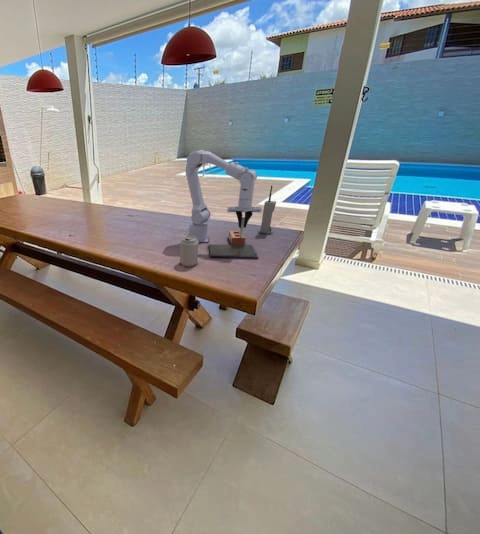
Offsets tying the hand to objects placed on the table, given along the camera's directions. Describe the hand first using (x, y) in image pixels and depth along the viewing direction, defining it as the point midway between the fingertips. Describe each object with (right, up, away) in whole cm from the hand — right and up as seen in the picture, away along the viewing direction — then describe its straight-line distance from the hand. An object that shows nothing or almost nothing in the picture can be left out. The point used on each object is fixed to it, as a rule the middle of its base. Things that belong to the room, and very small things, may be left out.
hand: (242, 227), depth 144 cm
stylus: (0, -5, +3) cm, 6 cm away
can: (-27, -17, -9) cm, 33 cm away
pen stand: (+2, -6, +11) cm, 13 cm away
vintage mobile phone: (+21, -1, +21) cm, 29 cm away
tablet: (-5, -12, 0) cm, 13 cm away
